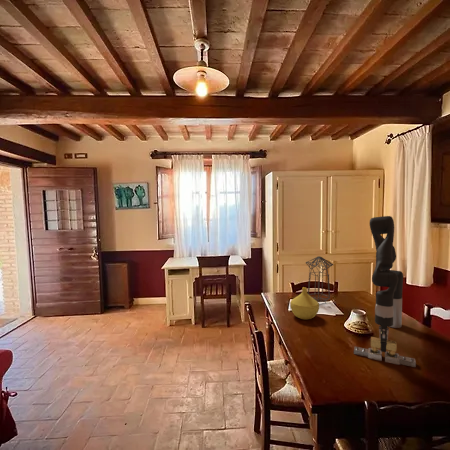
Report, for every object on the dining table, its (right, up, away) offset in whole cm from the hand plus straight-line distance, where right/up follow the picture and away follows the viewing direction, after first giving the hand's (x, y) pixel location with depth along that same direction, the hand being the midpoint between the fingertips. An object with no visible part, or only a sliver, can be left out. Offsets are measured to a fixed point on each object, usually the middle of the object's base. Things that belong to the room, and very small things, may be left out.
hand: (383, 349), depth 133 cm
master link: (0, -2, 0) cm, 2 cm away
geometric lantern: (-4, 0, +80) cm, 80 cm away
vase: (-22, -2, +53) cm, 57 cm away
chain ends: (0, -4, 0) cm, 4 cm away
